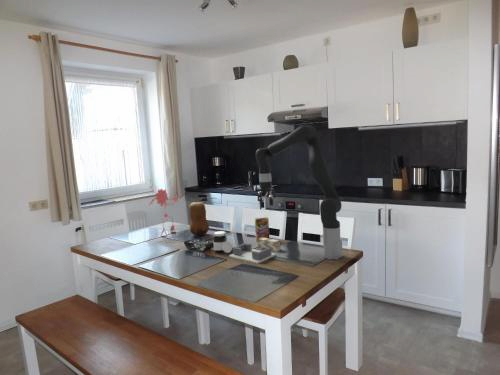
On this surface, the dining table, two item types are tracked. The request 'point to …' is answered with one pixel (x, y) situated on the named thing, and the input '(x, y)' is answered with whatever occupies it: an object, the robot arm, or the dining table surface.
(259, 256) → the cradle
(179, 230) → the dining table surface
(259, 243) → the slat
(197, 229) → the butternut squash
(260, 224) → the candy box
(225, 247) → the spread jar
